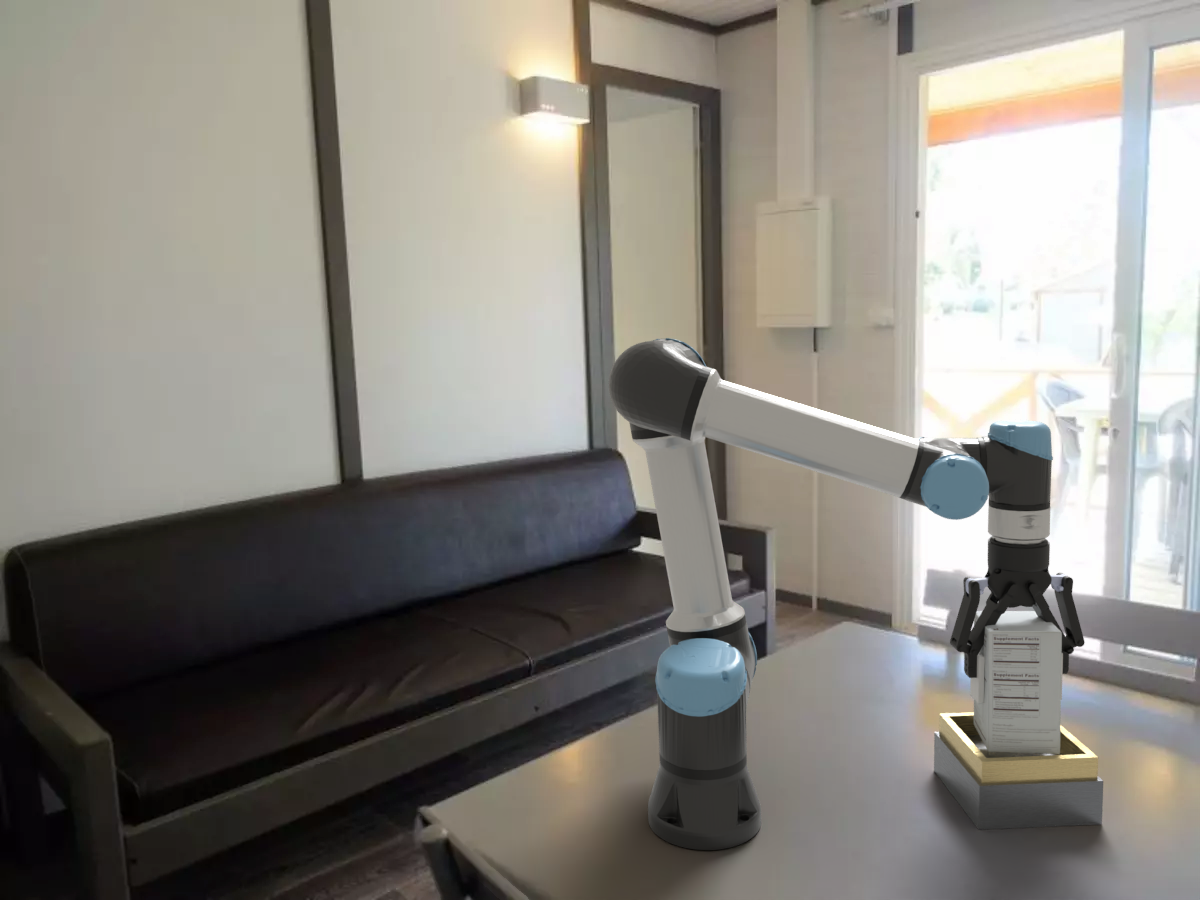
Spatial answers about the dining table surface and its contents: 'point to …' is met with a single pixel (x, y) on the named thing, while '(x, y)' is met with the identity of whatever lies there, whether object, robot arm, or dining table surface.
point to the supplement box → (1020, 685)
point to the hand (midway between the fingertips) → (1015, 697)
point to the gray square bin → (1017, 779)
